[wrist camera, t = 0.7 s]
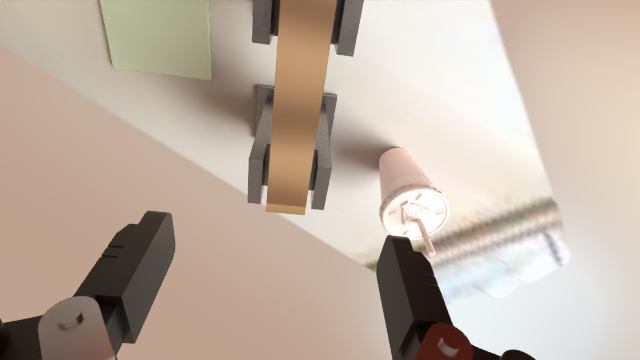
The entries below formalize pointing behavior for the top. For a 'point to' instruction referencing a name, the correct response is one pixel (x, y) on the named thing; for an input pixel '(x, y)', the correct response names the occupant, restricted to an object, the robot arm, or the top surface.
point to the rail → (297, 100)
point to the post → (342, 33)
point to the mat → (159, 36)
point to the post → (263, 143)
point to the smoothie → (410, 199)
